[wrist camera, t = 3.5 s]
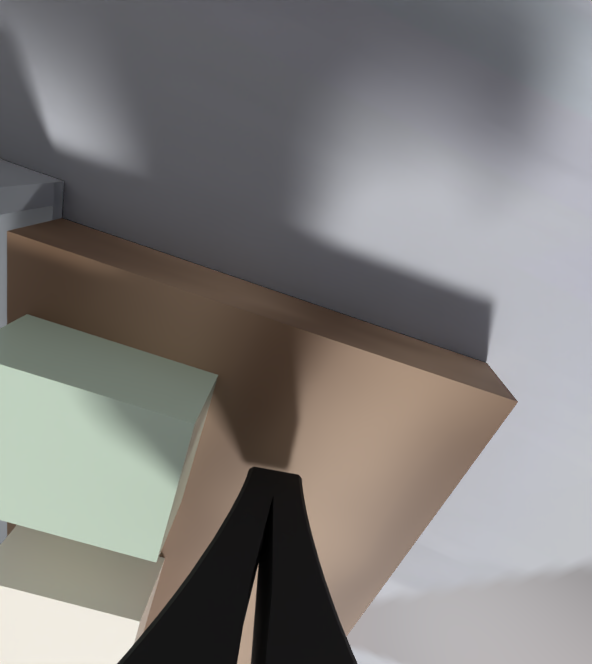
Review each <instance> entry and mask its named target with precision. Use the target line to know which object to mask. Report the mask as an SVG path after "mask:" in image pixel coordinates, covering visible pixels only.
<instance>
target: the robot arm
mask: <svg viewBox="0 0 592 664" xmlns="http://www.w3.org/2000/svg"><path fill="white" fill-rule="evenodd" d="M258 563H259V564H258ZM257 568H258V576H257V589H256V602H255V615H254V628H253V641H252V654H251V664H357V661H356V659H355V657H354V655H353V652H352V650H351V647H350V645H349V642H348V640H347V637H346V635H345V632H344V630H343V627H342V625H341V622H340V620H339V617H338V614H337V612H336V609H335V606H334V603H333V601H332V598H331V595H330V592H329V589H328V586H327V583H326V580H325V577H324V574H323V571H322V567H321V564H320V561H319V557H318V554H317V550H316V547H315V543H314V540H313V536H312V532H311V528H310V524H309V519H308V515H307V510H306V505H305V500H304V494H303V486H302V478H301V477H300V476H299V475H298V474H293V473H287V472H282V471H276V470H271V469H265V468H260V467H252V468H250V469H249V471H248V474H247V477H246V479H245V482H244V484H243V486H242V488H241V491H240V493H239V495H238V497H237V498H236V500H235V502H234V504H233V506H232V508H231V510H230V512H229V513H228V515H227V517H226V518H225V520H224V522H223V523H222V525H221V527H220V528H219V530H218V532H217V533H216V535H215V537H214V538H213V540H212V541H211V543H210V544H209V546H208V547H207V549H206V550H205V552H204V553H203V555H202V556H201V557H200V559H199V560H198V562H197V563H196V565H195V566H194V568H193V569H192V571H191V572H190V573H189V575H188V576H187V578H186V579H185V580H184V582H183V583H182V584H181V586H180V587H179V588H178V590H177V591H176V592H175V594H174V595H173V596H172V598H171V599H170V600H169V602H168V603H167V604H166V605H165V607H164V608H163V609H162V611H161V612H160V613H159V614H158V616H157V617H156V618H155V619H154V620H153V622H152V623H151V624H150V625H149V626H148V628H147V629H146V630H145V631H144V633H143V634H142V635H141V636H140V637H139V639H138V640H137V641H136V642H135V643H134V645H133V646H132V647H131V648H130V649H129V650H128V652H127V653H126V654H125V655H124V656H123V657H122V659H121V660H120V661H119V662H118V663H117V664H237V661H238V655H239V649H240V642H241V636H242V630H243V625H244V621H245V617H246V612H247V608H248V604H249V600H250V596H251V592H252V588H253V584H254V580H255V576H256V572H257Z"/></svg>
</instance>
